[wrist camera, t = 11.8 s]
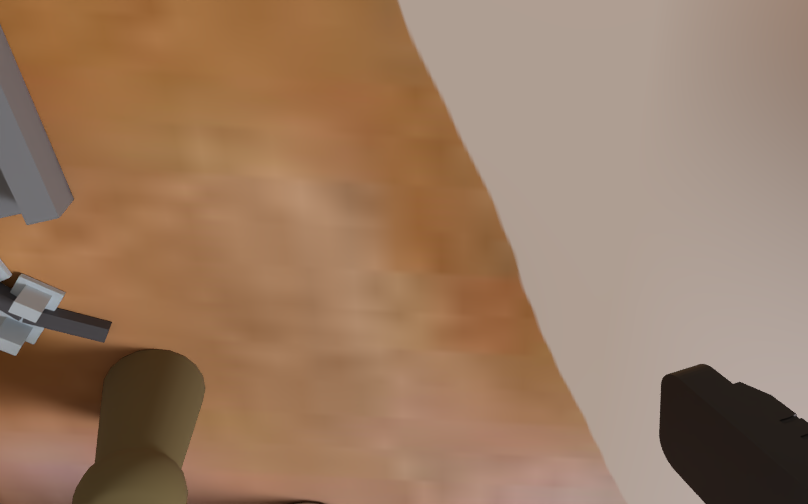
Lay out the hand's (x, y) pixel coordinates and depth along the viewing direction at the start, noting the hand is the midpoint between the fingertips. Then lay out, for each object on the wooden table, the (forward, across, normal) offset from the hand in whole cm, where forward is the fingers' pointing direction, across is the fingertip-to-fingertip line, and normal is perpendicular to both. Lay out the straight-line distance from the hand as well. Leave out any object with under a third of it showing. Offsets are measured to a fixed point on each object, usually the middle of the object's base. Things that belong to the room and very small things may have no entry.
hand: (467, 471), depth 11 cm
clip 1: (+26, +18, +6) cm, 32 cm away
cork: (+26, +13, +13) cm, 32 cm away
